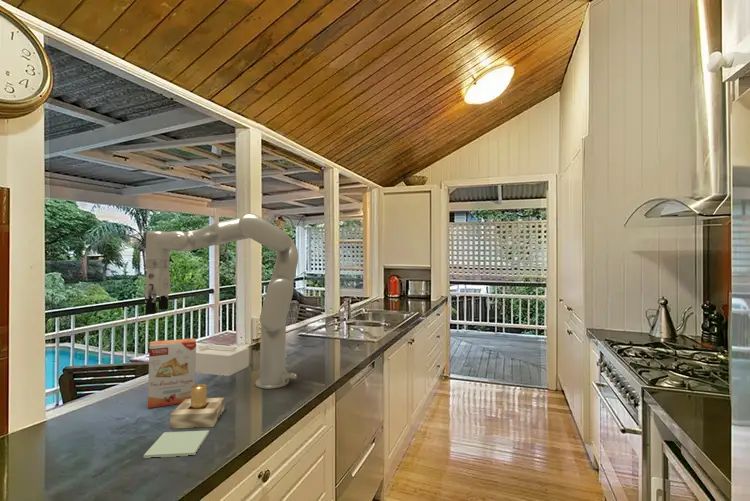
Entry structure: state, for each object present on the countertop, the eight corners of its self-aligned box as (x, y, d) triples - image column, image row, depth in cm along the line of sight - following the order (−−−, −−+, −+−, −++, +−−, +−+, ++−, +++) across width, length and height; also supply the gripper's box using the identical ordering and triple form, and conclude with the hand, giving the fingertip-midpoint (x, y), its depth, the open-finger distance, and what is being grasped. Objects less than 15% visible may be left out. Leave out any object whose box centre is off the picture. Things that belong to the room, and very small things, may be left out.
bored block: (224, 409, 123) (224, 397, 123) (213, 426, 111) (213, 413, 111) (185, 411, 122) (185, 398, 122) (169, 428, 110) (170, 414, 110)
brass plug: (208, 415, 119) (208, 383, 119) (203, 421, 115) (204, 388, 115) (193, 416, 118) (194, 384, 119) (188, 422, 114) (189, 388, 114)
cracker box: (147, 409, 123) (148, 344, 123) (148, 402, 128) (149, 340, 128) (195, 402, 129) (196, 340, 129) (194, 396, 135) (195, 337, 135)
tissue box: (200, 362, 177) (201, 338, 177) (248, 366, 171) (249, 342, 171) (177, 371, 163) (178, 346, 163) (229, 376, 157) (229, 350, 157)
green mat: (209, 433, 107) (209, 430, 107) (194, 455, 96) (194, 452, 96) (164, 435, 106) (164, 432, 106) (143, 458, 94) (143, 455, 94)
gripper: (157, 265, 131) (157, 315, 131) (178, 264, 148) (177, 308, 148) (134, 265, 130) (133, 315, 130) (157, 264, 147) (157, 308, 147)
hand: (157, 311), depth 139 cm, fingers open, 9 cm apart
